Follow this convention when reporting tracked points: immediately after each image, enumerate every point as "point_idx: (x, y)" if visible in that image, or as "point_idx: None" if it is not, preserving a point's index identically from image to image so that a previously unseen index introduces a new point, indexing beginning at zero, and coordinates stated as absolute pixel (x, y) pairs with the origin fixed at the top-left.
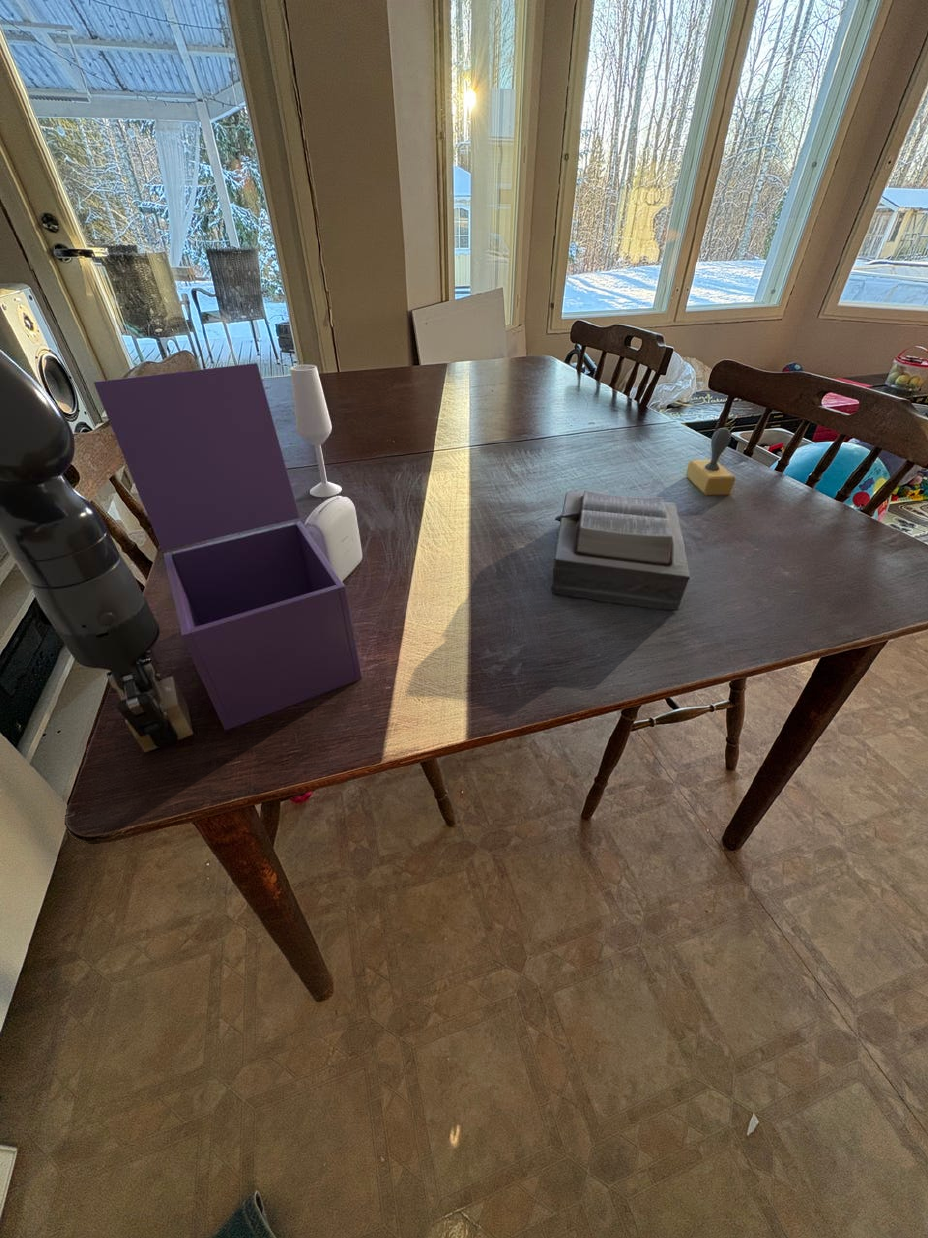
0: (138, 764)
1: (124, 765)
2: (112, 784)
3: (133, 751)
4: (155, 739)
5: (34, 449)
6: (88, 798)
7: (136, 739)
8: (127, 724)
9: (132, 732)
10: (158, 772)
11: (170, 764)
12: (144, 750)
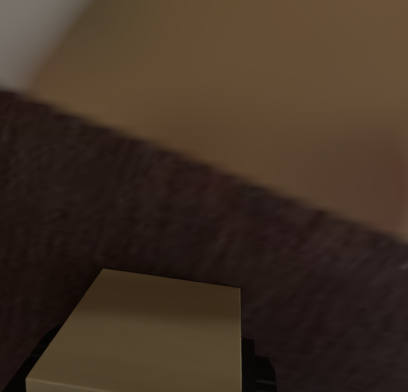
0: (67, 244)
1: (84, 213)
2: (26, 172)
3: (127, 244)
4: (31, 355)
5: None
6: (4, 104)
7: (77, 306)
8: (33, 369)
9: (59, 332)
10: (12, 279)
11: (25, 307)
12: (99, 275)
